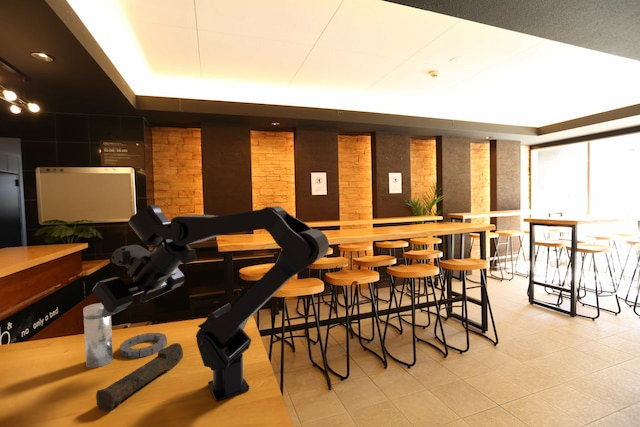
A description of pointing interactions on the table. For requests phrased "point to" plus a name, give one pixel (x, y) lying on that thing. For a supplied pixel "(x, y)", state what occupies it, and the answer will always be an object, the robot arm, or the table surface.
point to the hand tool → (139, 377)
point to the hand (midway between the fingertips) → (123, 308)
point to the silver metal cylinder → (97, 336)
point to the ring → (145, 351)
